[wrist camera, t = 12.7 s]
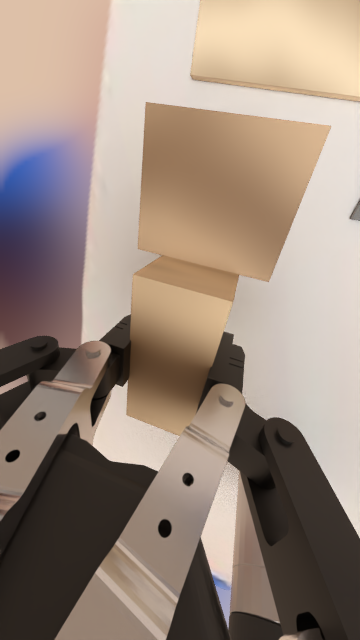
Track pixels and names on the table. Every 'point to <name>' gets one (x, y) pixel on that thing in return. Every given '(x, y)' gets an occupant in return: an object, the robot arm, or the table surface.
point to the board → (280, 45)
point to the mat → (356, 213)
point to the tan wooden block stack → (205, 241)
